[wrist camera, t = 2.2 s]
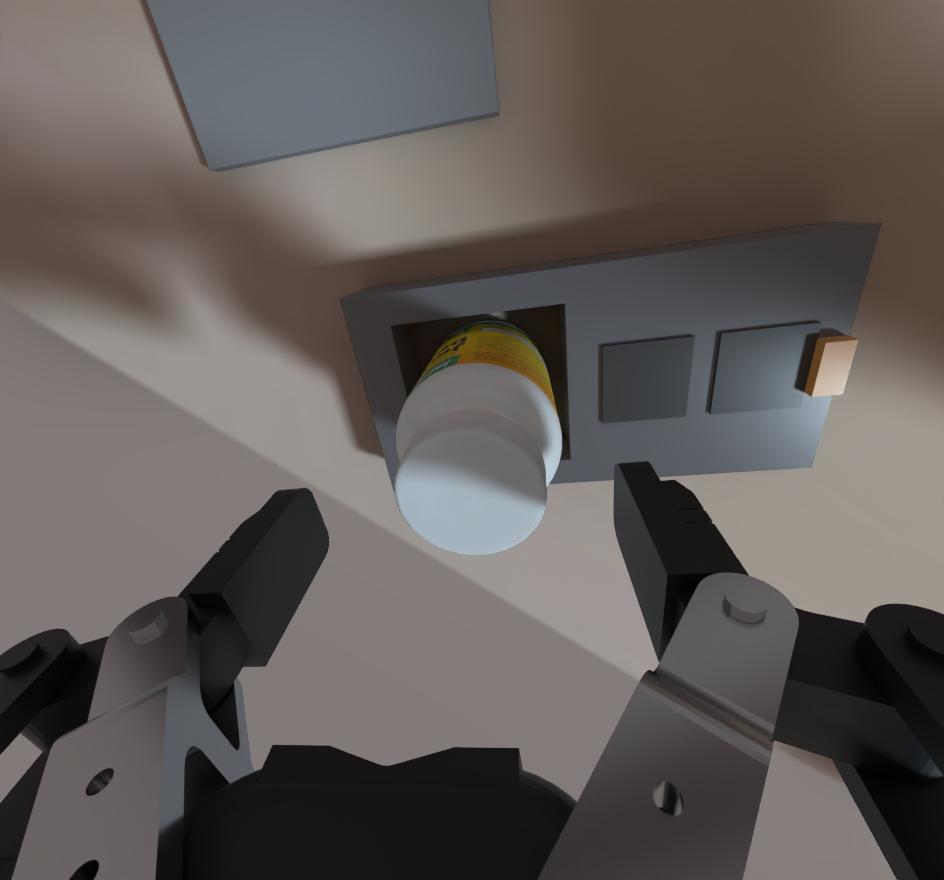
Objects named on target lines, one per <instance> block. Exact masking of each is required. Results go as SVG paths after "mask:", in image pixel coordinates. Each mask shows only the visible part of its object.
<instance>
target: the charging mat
mask: <svg viewBox="0 0 944 880" xmlns="http://www.w3.org/2000/svg"><path fill="white" fill-rule="evenodd" d="M146 1H147V3H148V6H149V9H150V11H151V14H152V17H153V20H154V22H155V25H156V28H157V30H158V33H159V36H160V38H161V41H162V44H163V47H164V49H165V52H166V55H167V57H168V60H169V63H170V65H171V68H172V71H173V74H174V76H175V79H176V82H177V84H178V87H179V90H180V92H181V95H182V98H183V100H184V103H185V106H186V109H187V111H188V114H189V117H190V119H191V122H192V125H193V127H194V130H195V133H196V136H197V138H198V141H199V144H200V146H201V149H202V152H203V154H204V157H205V160H206V163H207V165H208V168H209V170H214V171H224V170H229V169H234V168H239V167H244V166H249V165H254V164H258V163H263V162H268V161H273V160H278V159H283V158H288V157H293V156H298V155H303V154H308V153H313V152H318V151H323V150H328V149H333V148H338V147H343V146H348V145H353V144H358V143H363V142H368V141H373V140H378V139H383V138H388V137H393V136H398V135H403V134H408V133H413V132H418V131H423V130H428V129H432V128H437V127H442V126H447V125H452V124H457V123H462V122H467V121H472V120H477V119H482V118H487V117H492V116H497V115H499V111H498V100H497V89H496V78H495V67H494V55H493V44H492V33H491V22H490V11H489V0H146Z"/></svg>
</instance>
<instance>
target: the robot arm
mask: <svg viewBox="0 0 944 880" xmlns="http://www.w3.org/2000/svg"><path fill="white" fill-rule="evenodd" d="M614 526H615V532H616V536H617V540H618V543H619V546H620V549H621V552H622V555H623V558H624V561H625V564H626V567H627V570H628V573H629V576H630V579H631V582H632V584H633V587H634V590H635V593H636V596H637V599H638V602H639V605H640V608H641V611H642V614H643V617H644V620H645V623H646V626H647V629H648V632H649V635H650V638H651V641H652V644H653V647H654V650H655V653H656V655H657V658H658V661H659V662H660V663H659V665H658V667H657V668H656V670H655V671H654V672H653V671H651V670H648V671H647V672H646V673H645V674H644V675H643V677H642V678H641V680H640V681H639V683H638V685H637V687H636V689H635V691H634V693H633V695H632V696H631V699H630V701H629V702H628V704H627V706H626V708H625V711H624V712H623V714H622V716H621V718H620V720H619V722H618V724H617V726H616V728H615V730H614V732H613V734H612V736H611V737H610V739H609V741H608V743H607V745H606V747H605V749H604V751H603V753H602V755H601V757H600V759H599V761H598V763H597V765H596V767H595V768H594V770H593V772H592V774H591V776H590V778H589V780H588V782H587V784H586V786H585V788H584V790H583V792H582V794H581V796H580V798H579V800H578V802H576V801H575V800H574V799H573V798H572V797H571V796H570V795H568V794H567V793H566V792H564V791H563V790H561V789H560V788H559V787H557V786H556V785H554V784H553V783H551V782H549V781H547V780H545V779H543V778H541V777H539V776H537V775H535V774H532V773H529V772H527V771H524V770H523V769H522V763H521V757H520V752H519V748H462V747H461V748H460V747H454V748H450V749H447V750H443V751H440V752H437V753H433V754H430V755H426V756H423V757H419V758H416V759H412V760H409V761H405V762H402V763H398V764H395V765H390V766H382V765H379V764H376V763H374V762H371V761H368V760H365V759H363V758H360V757H358V756H355V755H352V754H349V753H347V752H344V751H341V750H339V749H336V748H334V747H331V746H312V745H272V748H271V750H270V752H269V754H268V756H267V759H266V761H265V763H264V766H263V768H262V769H260V770H257V771H254V769H253V765H252V762H251V758H250V749H249V741H248V733H247V724H246V715H245V706H244V698H243V690H242V684H241V682H240V681H239V679H238V678H237V676H238V674H239V673H240V671H241V669H242V668H243V667H261V666H266V665H267V663H268V661H269V659H270V657H271V655H272V654H273V652H274V650H275V648H276V647H277V645H278V643H279V641H280V639H281V637H282V636H283V634H284V632H285V630H286V628H287V626H288V624H289V622H290V621H291V619H292V617H293V615H294V614H295V612H296V610H297V608H298V605H299V604H300V602H301V600H302V599H303V597H304V595H305V593H306V591H307V590H308V588H309V586H310V584H311V582H312V580H313V578H314V577H315V575H316V573H317V571H318V569H319V568H320V566H321V564H322V562H323V560H324V558H325V557H326V554H327V552H328V548H329V536H328V531H327V529H326V526H325V524H324V521H323V519H322V516H321V514H320V511H319V509H318V506H317V504H316V501H315V499H314V497H313V494H312V492H311V491H310V490H309V489H307V488H299V489H287V490H279V491H277V492H275V493H274V494H273V496H272V497H271V498H270V499H269V500H268V501H267V503H266V504H265V505H264V506H263V507H262V508H261V510H260V511H258V512H257V513H255V514H254V515H252V516H251V517H250V518H248V519H247V520H245V521H244V522H243V523H242V524H241V525H240V526H239V527H238V528H237V529H236V531H235V532H234V533H233V534H232V535H231V536H230V540H227V541H226V542H225V543H224V544H223V545H222V547H221V548H220V549H219V552H217V553H215V554H214V555H213V557H212V558H211V559H210V560H209V561H208V562H207V563H206V565H205V566H204V567H203V568H202V569H201V570H200V572H199V573H198V574H197V575H196V576H195V577H194V578H193V580H191V582H190V583H189V584H188V585H187V586H186V587H185V589H184V590H183V591H182V592H181V593H180V594H179V596H177V597H175V596H174V597H166V598H162V599H159V600H156V601H154V602H151V603H149V604H147V605H145V606H143V607H142V608H140V609H138V610H137V611H135V612H134V613H132V614H131V615H130V616H128V617H127V618H126V619H124V620H123V621H122V622H121V623H120V624H119V625H118V626H117V627H116V628H115V629H114V631H113V632H112V633H111V635H110V636H108V637H104V638H101V639H97V640H94V641H91V642H87V643H84V644H81V645H80V644H79V643H78V642H77V641H76V640H75V639H74V638H73V637H72V635H70V633H69V632H68V631H66V630H64V629H53V630H48V631H44V632H42V633H39V634H36V635H35V636H32V637H30V638H28V639H26V640H24V641H22V642H20V643H18V644H17V645H15V646H13V647H12V648H10V649H9V650H7V651H6V652H4V653H3V654H2V655H0V754H1V753H2V752H3V751H4V750H5V749H6V748H7V747H8V746H9V745H10V743H11V742H12V741H13V740H14V739H15V738H16V737H17V736H18V735H19V733H21V734H22V735H23V736H25V737H26V738H27V739H28V740H29V741H31V742H32V743H33V744H34V745H35V746H37V747H38V748H39V749H40V750H41V751H43V752H42V754H41V755H40V756H39V757H38V758H37V760H36V761H35V762H34V763H33V765H32V766H31V767H30V768H29V769H28V770H27V772H26V773H25V774H24V775H23V776H22V778H21V779H20V780H19V781H18V782H17V784H16V785H15V786H14V787H13V788H12V790H11V791H10V792H9V793H8V795H7V796H6V797H5V798H4V799H3V801H2V802H1V803H0V880H743V876H744V871H745V867H746V862H747V858H748V854H749V850H750V845H751V841H752V837H753V832H754V828H755V824H756V820H757V815H758V811H759V806H760V802H761V798H762V793H763V789H764V785H765V780H766V776H767V772H768V768H769V763H770V759H771V754H772V749H773V742H774V740H775V741H779V742H782V743H785V744H788V745H791V746H794V747H797V748H800V749H803V750H807V751H810V752H813V753H816V754H819V755H822V756H825V757H828V758H831V759H832V760H833V762H834V764H835V766H836V768H837V770H838V771H839V773H840V775H841V777H842V779H843V781H844V782H845V784H846V786H847V788H848V790H849V792H850V794H851V795H852V797H853V799H854V801H855V803H856V805H857V806H858V808H859V810H860V812H861V814H862V816H863V818H864V819H865V821H866V823H867V825H868V827H869V829H870V831H871V832H872V834H873V836H874V838H875V840H876V842H877V844H878V845H879V847H880V849H881V851H882V853H883V855H884V856H885V858H886V860H887V862H888V864H889V866H890V868H891V869H892V871H893V873H894V875H895V877H896V879H897V880H944V614H941V613H938V612H936V611H933V610H930V609H926V608H922V607H918V606H913V605H907V604H886V605H881V606H878V607H876V608H874V609H873V610H872V611H870V612H869V614H868V616H867V618H866V620H865V623H860V622H855V621H850V620H845V619H840V618H835V617H830V616H826V615H821V614H816V613H812V612H808V611H804V610H801V609H798V608H795V607H793V605H792V604H791V602H790V601H789V600H788V599H787V598H786V597H785V596H784V595H783V594H782V593H781V592H780V591H778V590H777V589H775V588H774V587H772V586H771V585H769V584H767V583H765V582H764V581H761V580H759V579H757V578H754V577H751V576H749V575H748V573H747V572H746V570H745V569H744V567H743V566H742V565H741V563H740V562H739V560H738V559H737V557H736V556H735V554H734V553H733V551H732V550H731V548H730V547H729V545H728V544H727V542H726V541H725V539H724V538H723V536H722V535H721V533H720V532H719V530H718V529H717V527H716V526H715V524H712V520H711V518H710V517H709V516H708V514H707V513H706V511H704V510H703V507H702V505H701V504H700V502H699V501H698V499H697V498H696V496H695V495H694V493H693V492H692V491H690V490H689V489H687V488H686V487H684V486H683V485H681V484H680V483H678V482H677V481H675V480H667V481H660V479H659V477H658V476H657V474H656V472H655V470H654V469H653V467H652V465H651V464H650V462H649V461H642V462H630V463H618V464H616V465H615V469H614Z"/></svg>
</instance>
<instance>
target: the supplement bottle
mask: <svg viewBox="0 0 944 880" xmlns="http://www.w3.org/2000/svg"><path fill="white" fill-rule="evenodd" d="M396 447H397V453H398V457H399V460H400V465H399V467H398V470H397V473H396V477H395V497H396V502H397V505H398V508H399V511H400V513H401V515H402V517H403V518H404V520H405V521H406V522H407V524H408V525H409V526H410V527H411V529H412V530H414V531H415V532H416V533H417V534H418V535H419V536H421V537H422V538H423V539H425V540H426V541H428V542H430V543H431V544H433V545H435V546H437V547H439V548H442V549H444V550H447V551H451V552H455V553H460V554H468V555H483V554H492V553H496V552H500V551H503V550H506V549H508V548H510V547H512V546H515V545H516V544H518V543H519V542H521V541H522V540H524V539H525V538H526V537H527V536H529V535H530V534H531V533H532V532H533V530H534V529H535V528H536V526H537V525H538V524H539V522H540V520H541V518H542V516H543V514H544V510H545V506H546V501H547V486H548V484H549V483H550V482H551V480H552V478H553V477H554V475H555V472H556V470H557V468H558V465H559V461H560V458H561V451H562V433H561V426H560V422H559V418H558V414H557V410H556V405H555V401H554V397H553V392H552V388H551V384H550V379H549V375H548V371H547V367H546V363H545V360H544V357H543V355H542V353H541V351H540V349H539V347H538V346H537V344H536V343H535V342H534V340H533V339H532V338H531V337H530V336H529V335H527V334H526V333H525V332H524V331H522V330H521V329H519V328H517V327H515V326H513V325H511V324H509V323H505V322H501V321H480V322H474V323H471V324H468V325H465V326H463V327H461V328H459V329H457V330H455V331H454V332H452V333H451V334H450V335H449V336H448V337H447V338H446V339H445V340H444V341H443V343H442V344H441V345H440V346H439V348H438V350H437V351H436V353H435V355H434V356H433V358H432V360H431V361H430V363H429V364H428V366H427V368H426V369H425V371H424V372H423V374H422V376H421V377H420V379H419V380H418V382H417V384H416V385H415V387H414V388H413V390H412V392H411V393H410V395H409V396H408V398H407V399H406V401H405V404H404V406H403V408H402V411H401V413H400V416H399V419H398V423H397V429H396Z"/></svg>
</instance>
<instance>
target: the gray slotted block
mask: <svg viewBox="0 0 944 880" xmlns="http://www.w3.org/2000/svg"><path fill="white" fill-rule="evenodd" d="M880 226H881V223H846V222H826V223H819V224H812V225H805V226H798V227H791V228H785V229H778V230H771V231H764V232H757V233H750V234H743V235H736V236H729V237H722V238H715V239H708V240H701V241H694V242H687V243H680V244H673V245H666V246H659V247H653V248H646V249H639V250H632V251H625V252H618V253H611V254H604V255H597V256H590V257H583V258H576V259H569V260H562V261H555V262H548V263H541V264H534V265H527V266H521V267H514V268H507V269H500V270H493V271H486V272H479V273H472V274H465V275H458V276H451V277H444V278H437V279H430V280H423V281H416V282H409V283H402V284H395V285H389V286H382V287H375V288H368V289H361V290H359V291H357V292H355V293H353V294H351V295H348V296H346V297H344V298H342V299H340V302H341V305H342V309H343V312H344V316H345V319H346V323H347V326H348V330H349V334H350V337H351V341H352V344H353V348H354V351H355V355H356V358H357V362H358V366H359V369H360V373H361V376H362V380H363V383H364V387H365V391H366V394H367V398H368V401H369V405H370V408H371V412H372V415H373V419H374V423H375V426H376V430H377V433H378V437H379V440H380V444H381V448H382V451H383V455H384V458H385V462H386V465H387V469H388V472H389V476H390V480H391V483H392V487H393V490H394V494H395V477H396V473H397V470H398V467H399V465H400V460H399V457H398V453H397V447H396V429H397V423H398V419H399V416H400V413H401V411H402V408H403V406H404V404H405V401H406V399H407V398H408V396H409V395H410V393H411V392H412V390H413V388H414V387H415V385H416V384H417V382H418V380H419V379H420V378H419V373H418V368H417V364H416V359H415V354H414V349H413V345H412V340H411V335H410V331H409V326H408V323H416V322H424V321H432V320H440V319H447V318H455V317H463V316H471V315H479V314H486V313H494V312H502V311H510V310H518V309H525V308H533V307H541V306H549V305H557V304H559V308H560V332H561V355H562V379H563V403H564V426H565V433H562V451H561V458H560V461H559V465H558V468H557V470H556V472H555V475H554V477H553V478H552V480H551V482H550V483H549V484H557V483H573V482H589V481H605V480H614V469H615V465H616V464H618V463H630V462H642V461H649V462H650V464H651V465H652V467H653V469H654V470H655V472H656V474H657V476H658V477H668V476H684V475H699V474H715V473H731V472H747V471H762V470H778V469H794V468H810V467H812V465H813V461H814V458H815V454H816V451H817V447H818V444H819V440H820V437H821V433H822V430H823V426H824V423H825V419H826V416H827V412H828V409H829V405H830V402H831V398H832V395H841V394H843V391H844V388H845V385H846V381H847V378H848V374H849V371H850V368H851V364H852V361H853V358H854V354H855V351H856V347H857V344H858V341H859V339H856V338H853V337H850V336H849V335H850V331H851V328H852V324H853V321H854V317H855V314H856V310H857V307H858V303H859V300H860V296H861V293H862V289H863V286H864V282H865V279H866V275H867V272H868V268H869V265H870V261H871V258H872V254H873V251H874V247H875V244H876V240H877V236H878V233H879V229H880Z"/></svg>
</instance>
